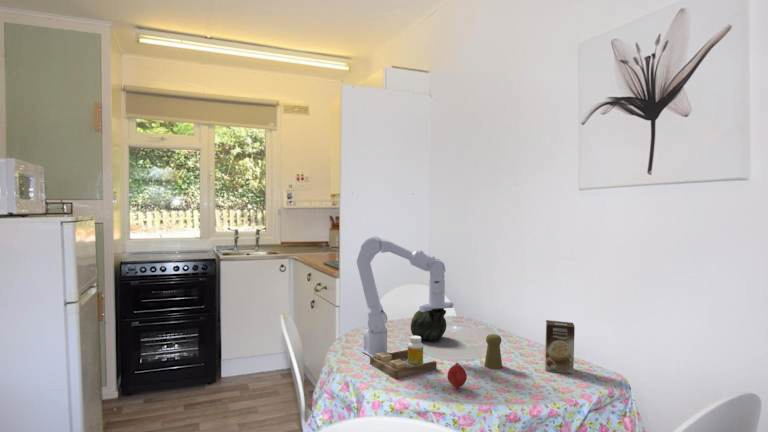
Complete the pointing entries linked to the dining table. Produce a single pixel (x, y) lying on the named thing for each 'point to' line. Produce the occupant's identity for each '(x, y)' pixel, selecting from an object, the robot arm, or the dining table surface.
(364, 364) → the dining table surface
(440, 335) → the squash
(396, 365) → the block
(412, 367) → the corral
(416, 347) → the supplement bottle
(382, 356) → the block
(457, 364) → the onion
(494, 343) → the cork
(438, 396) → the dining table surface
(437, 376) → the dining table surface
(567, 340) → the coffee box
